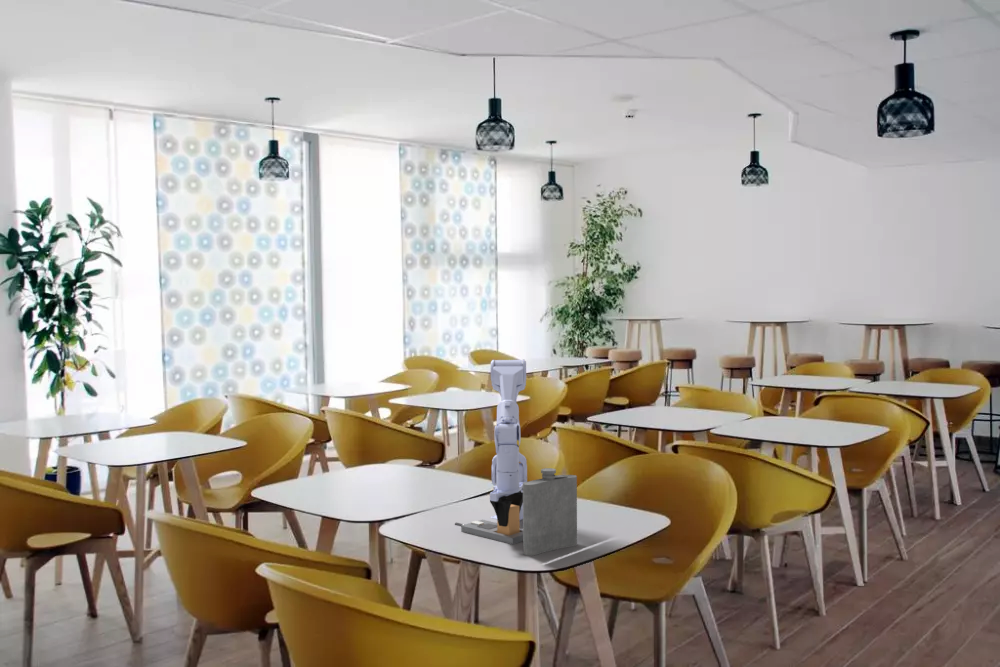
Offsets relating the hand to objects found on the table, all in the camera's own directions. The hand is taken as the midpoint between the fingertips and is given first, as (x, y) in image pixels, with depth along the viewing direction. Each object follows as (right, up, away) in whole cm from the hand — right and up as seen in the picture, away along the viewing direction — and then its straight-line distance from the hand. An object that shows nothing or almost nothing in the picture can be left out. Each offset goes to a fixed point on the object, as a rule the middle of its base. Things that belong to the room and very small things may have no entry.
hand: (508, 523), depth 227 cm
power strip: (-5, -4, +5) cm, 8 cm away
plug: (0, -4, 0) cm, 3 cm away
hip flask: (+10, -5, -10) cm, 15 cm away
